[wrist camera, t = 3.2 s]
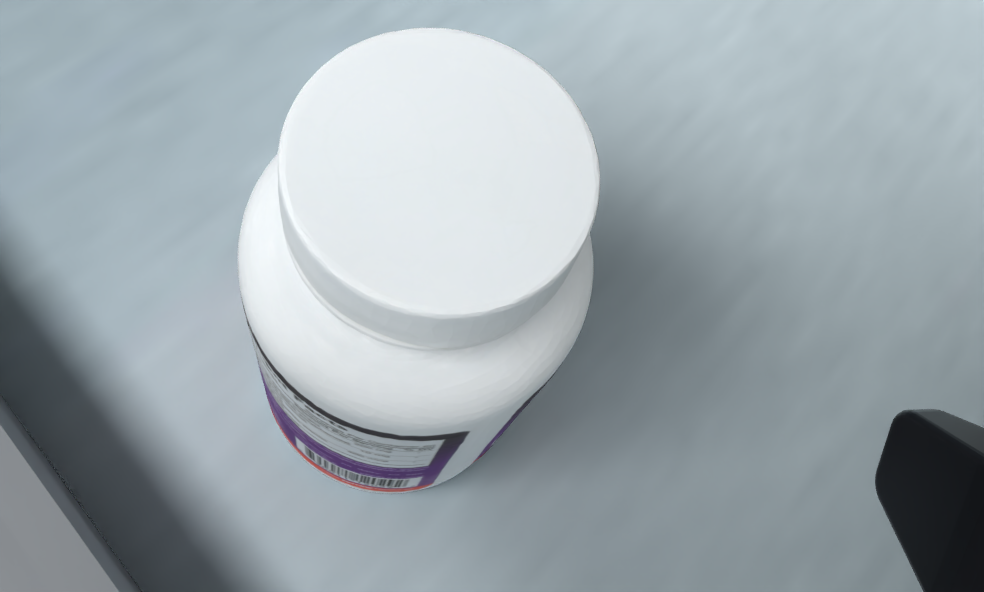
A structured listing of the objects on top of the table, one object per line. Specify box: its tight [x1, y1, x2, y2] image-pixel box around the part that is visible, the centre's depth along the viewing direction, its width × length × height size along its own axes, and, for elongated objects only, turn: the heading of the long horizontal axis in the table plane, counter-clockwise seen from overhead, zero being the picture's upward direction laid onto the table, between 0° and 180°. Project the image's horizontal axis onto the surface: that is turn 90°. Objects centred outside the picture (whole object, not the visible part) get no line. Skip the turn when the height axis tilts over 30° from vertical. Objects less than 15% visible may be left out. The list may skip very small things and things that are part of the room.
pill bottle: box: [238, 28, 600, 494], centre depth 16 cm, size 5×5×10 cm
